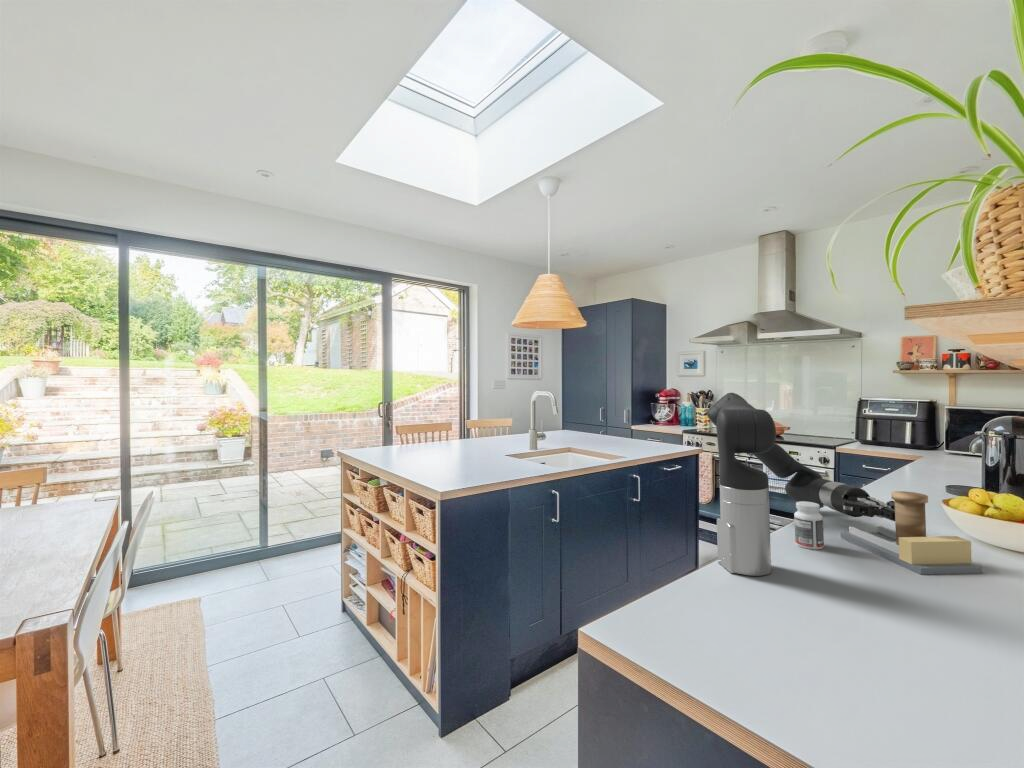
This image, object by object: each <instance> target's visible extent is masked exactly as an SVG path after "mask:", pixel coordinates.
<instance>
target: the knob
mask: <svg viewBox="0 0 1024 768" xmlns="http://www.w3.org/2000/svg"><path fill="white" fill-rule="evenodd" d="M890 496H891V499H892V500H893V501H895V521H894V523H895V524H894V525H895V531H896V542H891V543H894V544H896V545H899V537H927V520H926V517H927V516H926V504H928V503H929V495H927V494H924V493H921V492H914V491H900V490H899V491H898V490H897V491H891V494H890Z"/></svg>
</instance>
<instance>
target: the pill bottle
mask: <svg viewBox="0 0 1024 768" xmlns="http://www.w3.org/2000/svg"><path fill="white" fill-rule="evenodd" d="M820 505H821V504H817V503H813V502H805V501H800V502H797V501H795V508H796V509H797V511H795V512H794V514H793V515H794V516H793V519H794V520H793V521H794V522H793V523H794V542H795V544H796V546H798V547H800V548H803V549H807V550H821V549H823V548H824V547H825V541H824V540H825V539H824V538H825V536H824V518H823V515H822V514H821V513H820V510H821V509H820V508H821V507H820Z"/></svg>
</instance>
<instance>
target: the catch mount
mask: <svg viewBox="0 0 1024 768" xmlns="http://www.w3.org/2000/svg"><path fill="white" fill-rule="evenodd" d="M848 530H849V532H840V538H841V539H843V540H845V541H847V542H849V543H851V544H853V545H857V546H858V547H860V548H862V549H865V550H867V551H869V552H870V553H874V554H875V555H878V556H880V557H881V558H885V559H886V560H889V561H891V562H892V563H895V564H897V565H899V566H902V567H904V568H906V569H908V570H911V571H913V572H914V573H917V574H919V575H959V574H962V575H963V574H964V575H965V574H966V575H967V574H983V567H982V566H979V565H978V564H974V563H972V541H971V540H969V539H967V538H963V537H960V536H957V535H949V536H944V535H941V536H926V537H899V545H896V544H894V543H891V542H896V530H893V529H889V528H887V527H885V526H882V525H878V526H877V532H876V531H874V532H873V531H872V532H870V531H869V532H867V531H865V530H862V529H859V528H856V527H854V526H849V527H848Z"/></svg>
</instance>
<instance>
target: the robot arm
mask: <svg viewBox="0 0 1024 768" xmlns="http://www.w3.org/2000/svg"><path fill="white" fill-rule="evenodd" d="M706 416H707V418H708V419H709V420H710V422H711V423H713V425H714V426H716V439H717V451H718V462H719V465H718V466H719V467H718V468H719V470H718V471H719V473H718V474H719V477H718V478H719V479H718V480H719V503H720V504H719V505H720V506H719V510H720V513H719V514H720V517H718V518H716V536H717V539H716V541H717V544H716V545H717V546H716V547H717V563H719V564H720V565H721V566H722V567H723V568H724V569H726V571H728V572H729V573H731V574H740V575H745V576H756V577H757V576H759V577H760V576H765V575H769V574H770V573H772V553H771V552H772V550H771V523H770V522H771V521H770V514H771V513H770V487H769V484H770V483H769V476H768V474H767V473H766V472H765V471H763V470H760V469H758V468H755V467H752V466H749V465H746V463H743V462H742V461H740V460H738V458H736V456H735V455H736V454H751V455H753V456H754V457H755V458H756V459H758V460H759V461H760V462H761V463H762V464H763V465H764V466H765V467H766V468H767V469H768V470H769V471H771V472H772V473H773V474H774V475H775V476H776V477H778V478H780V479H786V478H789V477H790V476H792V477H791V478H790V480H788V482H786V484H785V487H784V491H785V493H786V495H787V496H788V498H790V499H791V500H793V501H795V502H800V501H805V502H813V503H817V504H819V505H822V506H825V507H828V508H829V509H831V510H833V511H836V512H838V513H841V514H843V515H846V516H850V517H852V518H861V517H863V516H864V517H869V518H874V517H875V518H879V519H883V518H884V519H886V520H890V521H893V522H895V500H888V501H886V503H885V502H884V501H882V500H880V499H876V498H875V497H874V496H873V497H872V496H871V495H870V494H869V493H868V492H867V491H866V490H864V489H863V488H861V487H857V486H854V485H850V484H847V483H843V482H838V481H833V480H830V479H825V478H823V477H822V475H821V473H819V472H817V471H816V470H814V469H812V468H810V467H808V466H806V465H804V464H802V463H801V462H799V461H798V460H796V459H795V458H794V457H792V455H790V454H789V453H788V452H787V450H785V449H784V448H783V447H782V446H780V445H779V444H778V443H776V439H777V428H776V423H775V421H774V418H773V417H772V415H771V414H770V413H769V412H768V411H767V410H765V409H757V408H755V407H754V406H753V405H752V404H750V403H748V402H747V400H746V399H745V397H742V396H741V395H740V394H737V393H735V392H728V393H726V394H724V395H723V396H722V397H720V398H719V399H718V400H717V401H716V402H714V404H713V405H711V406H710V407H709V408H708V409H707V411H706ZM730 554H731V555H730ZM723 558H724V559H723ZM718 560H721V561H718Z"/></svg>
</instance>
